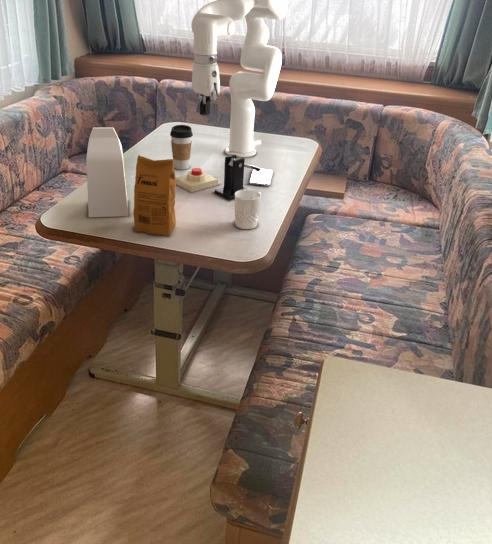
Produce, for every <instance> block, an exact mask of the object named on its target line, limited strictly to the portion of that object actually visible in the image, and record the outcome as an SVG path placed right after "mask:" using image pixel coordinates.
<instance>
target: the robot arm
mask: <svg viewBox="0 0 492 544" xmlns="http://www.w3.org/2000/svg"><path fill="white" fill-rule="evenodd" d="M288 9H289V3H288V0H214V1H211V2H208V3H206V4H205V5H203V6H202V7H201V8H200V9H198V11H197V12H196V13H195V14H194V16H193V17H192V21H191V24H190V25H191V31H192V33H193V63H192V70H191V71H192V72H191V89H192V91H193V94H194V95H195V96H196V97H197V99H198V103H199V115H200V116H204V117H205V116H207V115H210V114H211V103H212V101H216V100H217V96H219V95H220V94H221V80H220V78H221V77H220V70H219V69H220V68H219V64H218V63H217V61H218V59H217V58H218V57H217V56H218V55H217V54H218V41H226V40H229V39H230V38H231V37H232V36H233V34H234V32H235V22H236V21H240V20H243V18H245V23H246V34H245V39H244V42H243V46H242V50H241V54H240V59H239V64H240V66H241V67H242V68H243V69H245V70H247V71H237V72H235V73H233V74H232V75H231V76H230V79H229V82H228V83H229V94H230V117H229V118H230V119H229V138H228V139H229V140H228V141H229V143H228V146H226V147H225V148H224V153H225V154H227V156H230V155H237V158H249V157H254V156H255V155H256V154H257V149H255V148H256V147H257V146H261V145H262V141H261V140H260V139H259V140H256V141H255V139H254V129H255V116H256V107H255V105H254V102H253V101H260V102H268V101H270V100H271V99H272V98H273V95H274V92H275V89H276V86H277V82H278V78H279V75H280V71H281V67H282V62H283V55H282V52H281V50H280V48H278V47H276V46H272V45H267V44H268V41H269V37H270V33H269V29H268V27H267V25H266V23H265V21H264V19H266V20H276V21H277V20H282V19H284V18H285V17H286V15H287V13H288ZM249 71H253V72H249ZM256 72H260V73H256ZM262 73H263V74H262Z"/></svg>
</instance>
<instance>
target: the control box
mask: <svg viewBox="0 0 492 544" xmlns="http://www.w3.org/2000/svg"><path fill="white" fill-rule="evenodd" d="M191 172H192V170H189V171H187V173H186V174H183V175H179V176H175V179H176V185H177V186H179V187H181V188H182V189H184V190H187V191H189V192H190V193H195V192H198V191H202V190H206V189H208V188H212V187H216V186H218V185H219V178H217V177H215V176H213V175H212V174H209V173H207V172H206V171H204V170H202V175H199V176H195V175H192V174H191Z"/></svg>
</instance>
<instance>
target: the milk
mask: <svg viewBox="0 0 492 544" xmlns="http://www.w3.org/2000/svg"><path fill="white" fill-rule="evenodd" d="M86 151H87V152H86V161H85V162H86V187H87V207H88V208H87V209H88V210H87V213H88V218H109V217H114V218H115V217H129V206H128V202H129V201H128V192H127V183H126V172H125V161H124V152H123V146H122V142H121V141H120V138H119V136H118V134H117V132H116V130H115V128H114V126H104V127H103V126H101V127H99V126H98V127H95V126H94V127H92V129H91V132H90V134H89V137H88V143H87V150H86Z"/></svg>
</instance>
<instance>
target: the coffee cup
mask: <svg viewBox="0 0 492 544" xmlns="http://www.w3.org/2000/svg"><path fill="white" fill-rule="evenodd" d="M170 129H171V130H170V132H169V136H170V145H171V154H172V159H173V160H174V170H180V171H181V170H183V171H184V170H188V169H190V164H191V163H190V162H191V155H192V154H191V152H192V144H193V143H192V142H193V140H192V139H193V138H192V137H193V136H194V134H193V131H192V127H191V126H190V125H186V124H176V125H174V126H172V127H171V128H170Z"/></svg>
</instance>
